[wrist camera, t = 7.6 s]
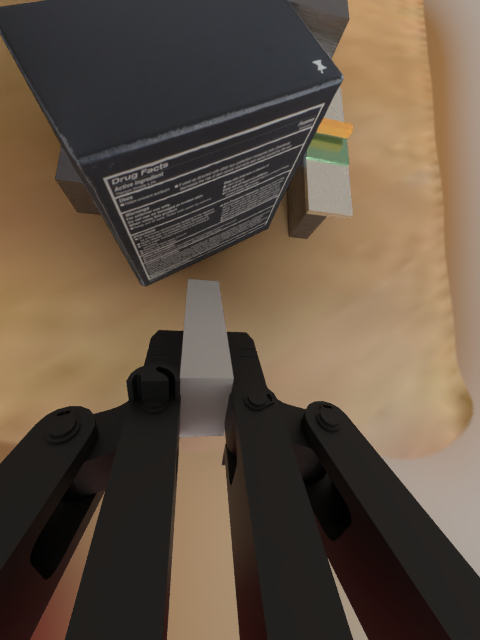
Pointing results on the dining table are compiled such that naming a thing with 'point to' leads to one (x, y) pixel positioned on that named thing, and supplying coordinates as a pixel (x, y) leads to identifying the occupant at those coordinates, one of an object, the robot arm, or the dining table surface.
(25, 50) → the small box
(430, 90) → the dining table surface
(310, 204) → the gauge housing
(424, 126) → the dining table surface
